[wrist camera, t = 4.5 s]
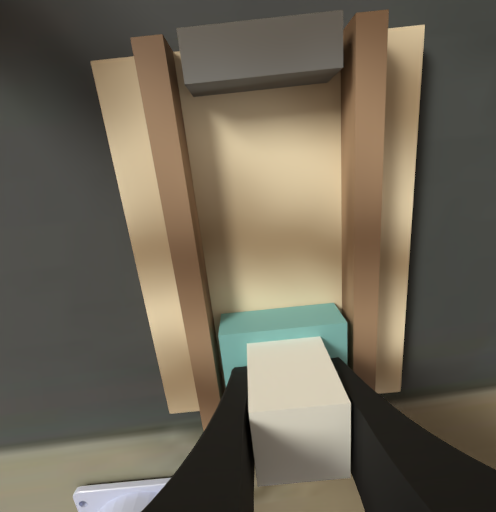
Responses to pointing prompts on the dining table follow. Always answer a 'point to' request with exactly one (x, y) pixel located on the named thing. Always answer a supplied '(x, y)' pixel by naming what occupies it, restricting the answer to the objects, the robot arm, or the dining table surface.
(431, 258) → the dining table surface
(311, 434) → the slider
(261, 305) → the track
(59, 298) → the dining table surface
